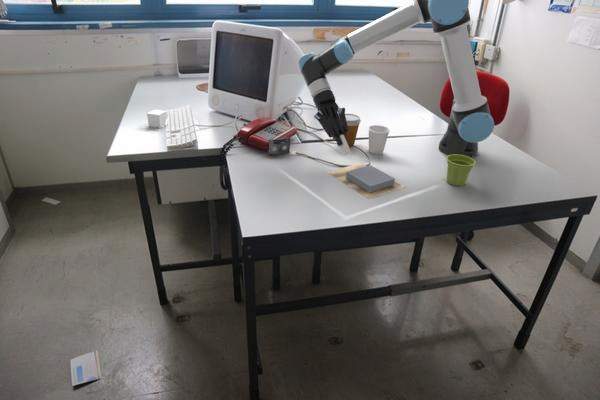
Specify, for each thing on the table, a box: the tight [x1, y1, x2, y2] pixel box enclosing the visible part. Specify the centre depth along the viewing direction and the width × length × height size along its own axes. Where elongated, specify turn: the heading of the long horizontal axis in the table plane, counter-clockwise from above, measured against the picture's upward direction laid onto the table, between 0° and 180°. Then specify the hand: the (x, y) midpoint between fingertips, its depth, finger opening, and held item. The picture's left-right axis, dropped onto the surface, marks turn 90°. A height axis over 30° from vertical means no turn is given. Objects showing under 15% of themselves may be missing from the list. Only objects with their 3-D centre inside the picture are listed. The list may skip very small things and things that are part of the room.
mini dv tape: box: [267, 136, 291, 156], centre depth 158 cm, size 8×2×6 cm, turn 111°
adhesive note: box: [146, 109, 169, 129], centre depth 179 cm, size 6×6×6 cm
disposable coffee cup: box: [345, 113, 362, 148], centre depth 166 cm, size 10×10×12 cm
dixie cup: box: [367, 124, 391, 155], centre depth 160 cm, size 8×8×10 cm
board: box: [326, 162, 405, 200], centre depth 140 cm, size 22×16×1 cm
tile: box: [346, 164, 396, 193], centre depth 138 cm, size 3×11×12 cm
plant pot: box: [446, 154, 477, 187], centre depth 141 cm, size 9×9×9 cm
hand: (347, 152), depth 145 cm, fingers closed
